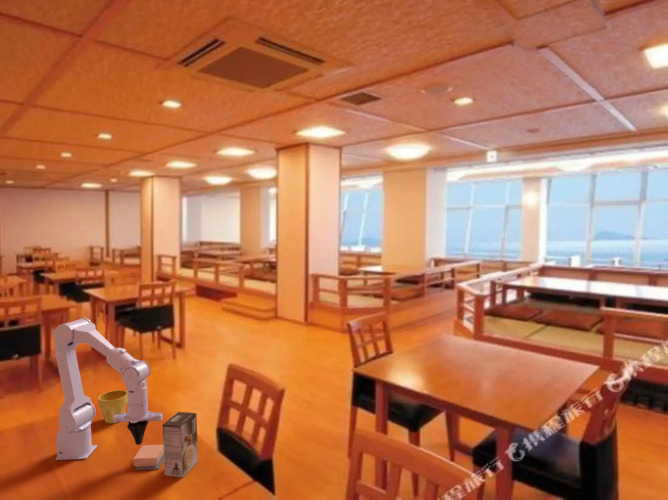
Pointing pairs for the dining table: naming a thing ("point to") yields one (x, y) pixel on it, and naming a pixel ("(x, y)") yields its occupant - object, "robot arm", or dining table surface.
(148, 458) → the pale pink block
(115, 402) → the plant pot
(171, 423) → the coffee box
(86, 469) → the dining table surface
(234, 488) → the dining table surface
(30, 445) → the dining table surface
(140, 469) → the mat
